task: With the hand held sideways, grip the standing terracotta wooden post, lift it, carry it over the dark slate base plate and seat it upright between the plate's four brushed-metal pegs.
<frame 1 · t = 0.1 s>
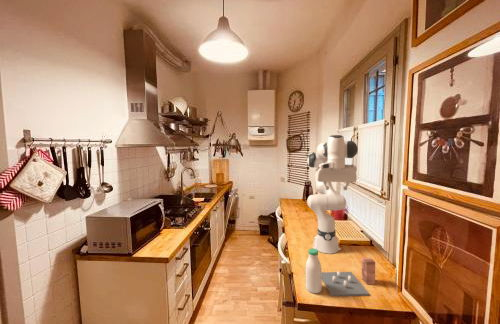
hand: (336, 189, 114), 48 cm above the counter, tool pointing down, fingers open, 8 cm apart
peg plate: (342, 284, 109), on the counter
milk bottle: (313, 289, 105), on the counter
terracotta post: (368, 281, 110), on the counter
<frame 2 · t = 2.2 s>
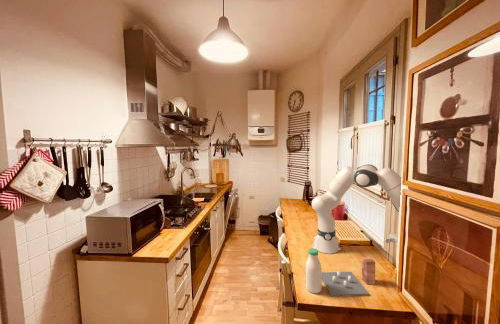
hand: (391, 244, 109), 20 cm above the counter, tool horizontal, fingers open, 8 cm apart
nothing on the counter moved.
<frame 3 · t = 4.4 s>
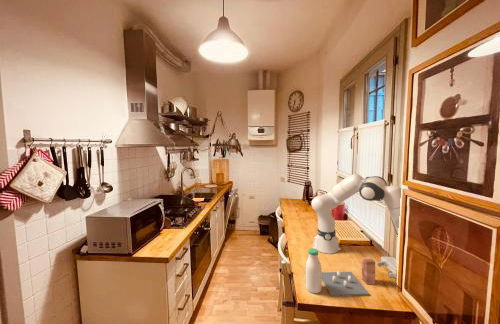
hand: (383, 269, 110), 6 cm above the counter, tool horizontal, fingers open, 8 cm apart
nothing on the counter moved.
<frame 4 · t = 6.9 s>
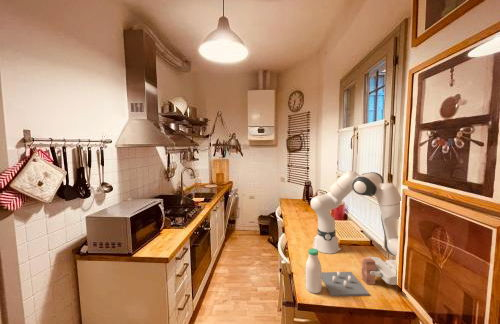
hand: (366, 269, 110), 7 cm above the counter, tool horizontal, fingers closed on terracotta post, 4 cm apart
terracotta post: (368, 281, 110), on the counter, touching gripper
everything else where it was.
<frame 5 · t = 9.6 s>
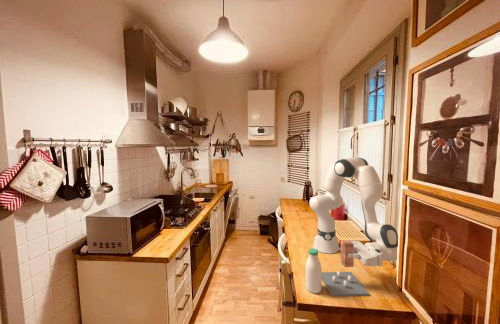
hand: (345, 252, 108), 17 cm above the counter, tool horizontal, fingers closed on terracotta post, 4 cm apart
terracotta post: (347, 264, 108), point 10 cm above the counter, touching gripper
everything else where it was.
when the fingers open (9 cm above the counter, at t = 12.2 s): terracotta post drops 1 cm, resting on peg plate.
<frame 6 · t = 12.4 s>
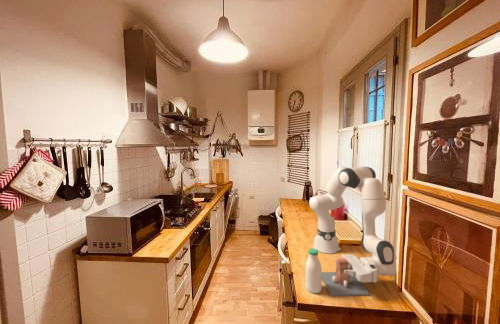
hand: (340, 267, 108), 9 cm above the counter, tool horizontal, fingers open, 6 cm apart
terracotta post: (342, 281, 109), point 1 cm above the counter, touching peg plate
everything else where it was.
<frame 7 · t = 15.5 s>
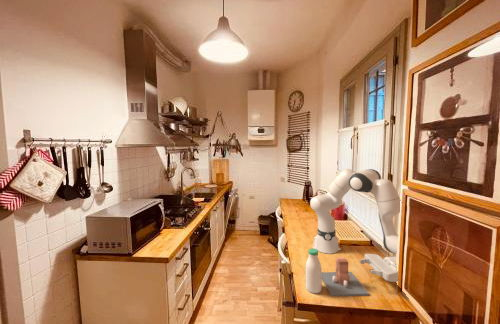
hand: (365, 266, 108), 9 cm above the counter, tool horizontal, fingers open, 8 cm apart
nothing on the counter moved.
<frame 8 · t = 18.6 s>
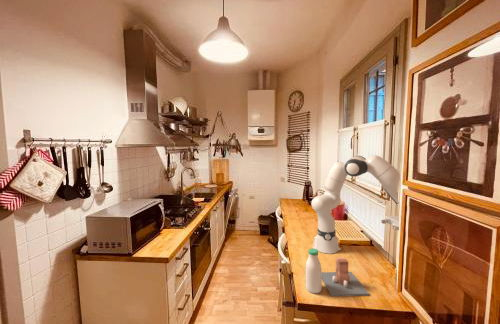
hand: (387, 224, 109), 30 cm above the counter, tool horizontal, fingers open, 8 cm apart
nothing on the counter moved.
at the end: terracotta post 0.1 cm off-centre on the peg plate, point 1.0 cm above the peg plate's base; terracotta post tilted 0°; the gripper is holding nothing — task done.
